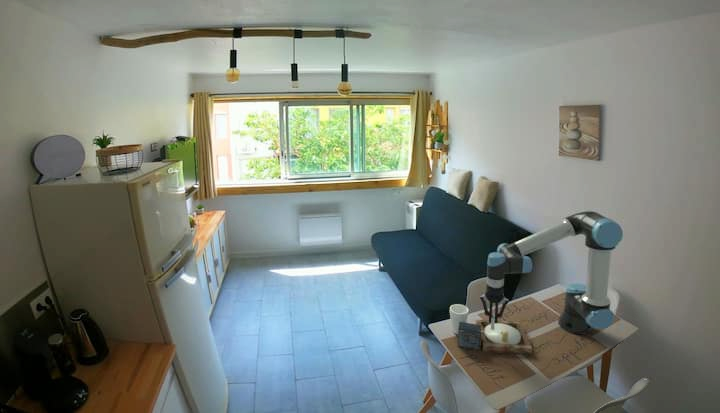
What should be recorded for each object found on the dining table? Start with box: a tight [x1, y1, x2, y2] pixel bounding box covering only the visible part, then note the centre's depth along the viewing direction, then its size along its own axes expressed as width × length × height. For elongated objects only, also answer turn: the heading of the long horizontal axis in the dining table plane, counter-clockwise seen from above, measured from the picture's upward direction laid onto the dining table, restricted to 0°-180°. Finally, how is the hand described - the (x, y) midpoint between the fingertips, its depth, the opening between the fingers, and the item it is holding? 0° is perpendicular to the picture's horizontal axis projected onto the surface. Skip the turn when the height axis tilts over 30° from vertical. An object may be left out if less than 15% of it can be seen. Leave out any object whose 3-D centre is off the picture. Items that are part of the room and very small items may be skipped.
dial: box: [484, 323, 521, 345], centre depth 186 cm, size 17×17×6 cm
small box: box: [457, 322, 481, 351], centre depth 182 cm, size 11×6×10 cm, turn 71°
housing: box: [475, 319, 533, 356], centre depth 187 cm, size 22×22×4 cm
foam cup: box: [449, 303, 470, 335], centre depth 193 cm, size 10×9×13 cm
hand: (492, 328), depth 182 cm, fingers closed
